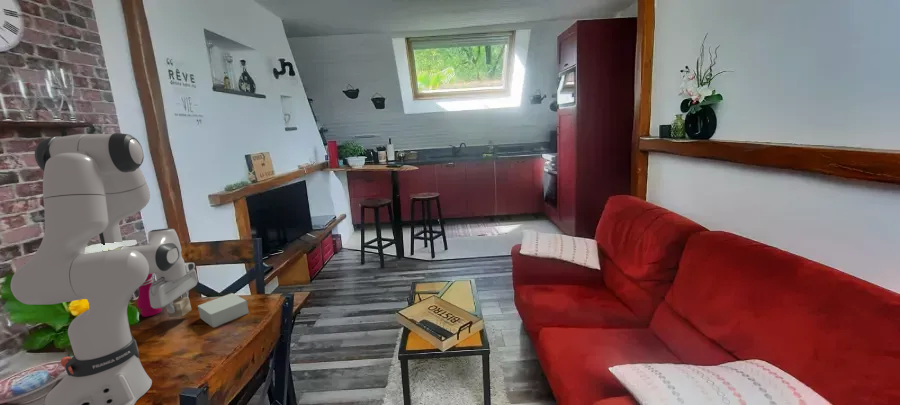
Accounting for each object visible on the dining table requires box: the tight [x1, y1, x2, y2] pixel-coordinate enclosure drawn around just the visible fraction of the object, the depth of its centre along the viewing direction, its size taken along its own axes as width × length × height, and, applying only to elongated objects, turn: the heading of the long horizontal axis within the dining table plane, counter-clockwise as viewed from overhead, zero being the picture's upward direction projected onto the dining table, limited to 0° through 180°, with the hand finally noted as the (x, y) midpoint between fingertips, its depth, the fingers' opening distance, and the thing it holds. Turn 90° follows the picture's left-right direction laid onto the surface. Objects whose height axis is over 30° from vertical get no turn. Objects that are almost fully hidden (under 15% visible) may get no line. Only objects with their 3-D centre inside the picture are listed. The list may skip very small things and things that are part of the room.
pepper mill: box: [136, 273, 163, 318], centre depth 145 cm, size 7×7×20 cm
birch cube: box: [166, 296, 192, 318], centre depth 140 cm, size 5×5×5 cm
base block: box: [197, 292, 250, 329], centre depth 141 cm, size 12×12×5 cm
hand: (179, 308), depth 140 cm, fingers closed on birch cube, 5 cm apart
